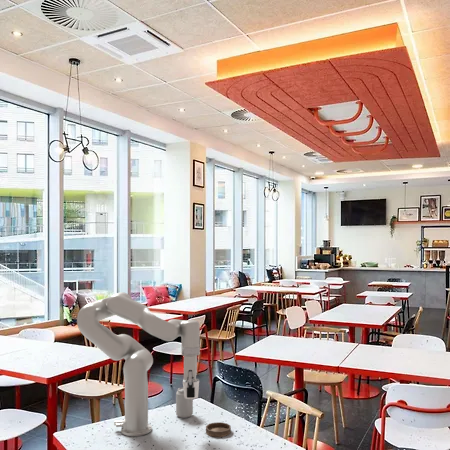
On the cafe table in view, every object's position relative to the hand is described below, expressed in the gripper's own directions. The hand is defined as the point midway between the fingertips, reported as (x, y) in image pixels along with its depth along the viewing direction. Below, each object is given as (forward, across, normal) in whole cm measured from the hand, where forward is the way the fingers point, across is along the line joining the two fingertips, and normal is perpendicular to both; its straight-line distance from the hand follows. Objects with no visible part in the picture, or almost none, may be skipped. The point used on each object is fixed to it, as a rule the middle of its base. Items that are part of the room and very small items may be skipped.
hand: (191, 394), depth 201 cm
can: (+16, -20, -4) cm, 26 cm away
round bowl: (+16, 0, +11) cm, 19 cm away
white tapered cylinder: (+1, 0, 0) cm, 1 cm away
